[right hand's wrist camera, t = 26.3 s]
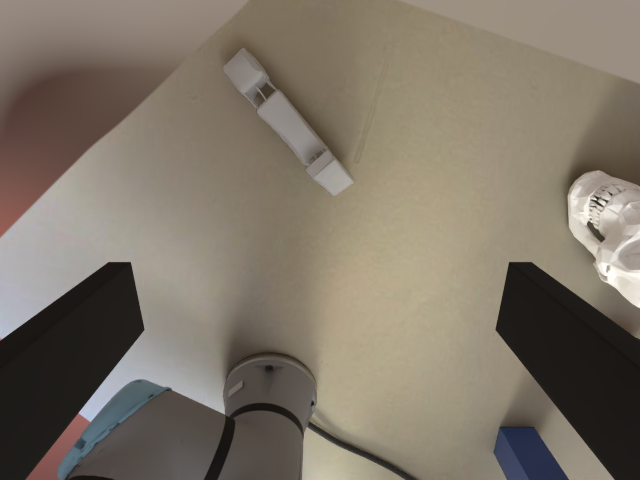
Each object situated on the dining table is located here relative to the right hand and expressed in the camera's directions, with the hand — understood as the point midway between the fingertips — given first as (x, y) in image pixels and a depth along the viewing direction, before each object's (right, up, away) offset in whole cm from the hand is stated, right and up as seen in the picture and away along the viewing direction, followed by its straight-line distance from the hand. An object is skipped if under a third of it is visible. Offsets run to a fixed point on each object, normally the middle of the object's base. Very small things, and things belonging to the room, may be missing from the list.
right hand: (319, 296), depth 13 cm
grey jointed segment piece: (-3, +16, +33) cm, 37 cm away
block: (+35, -34, +51) cm, 71 cm away
